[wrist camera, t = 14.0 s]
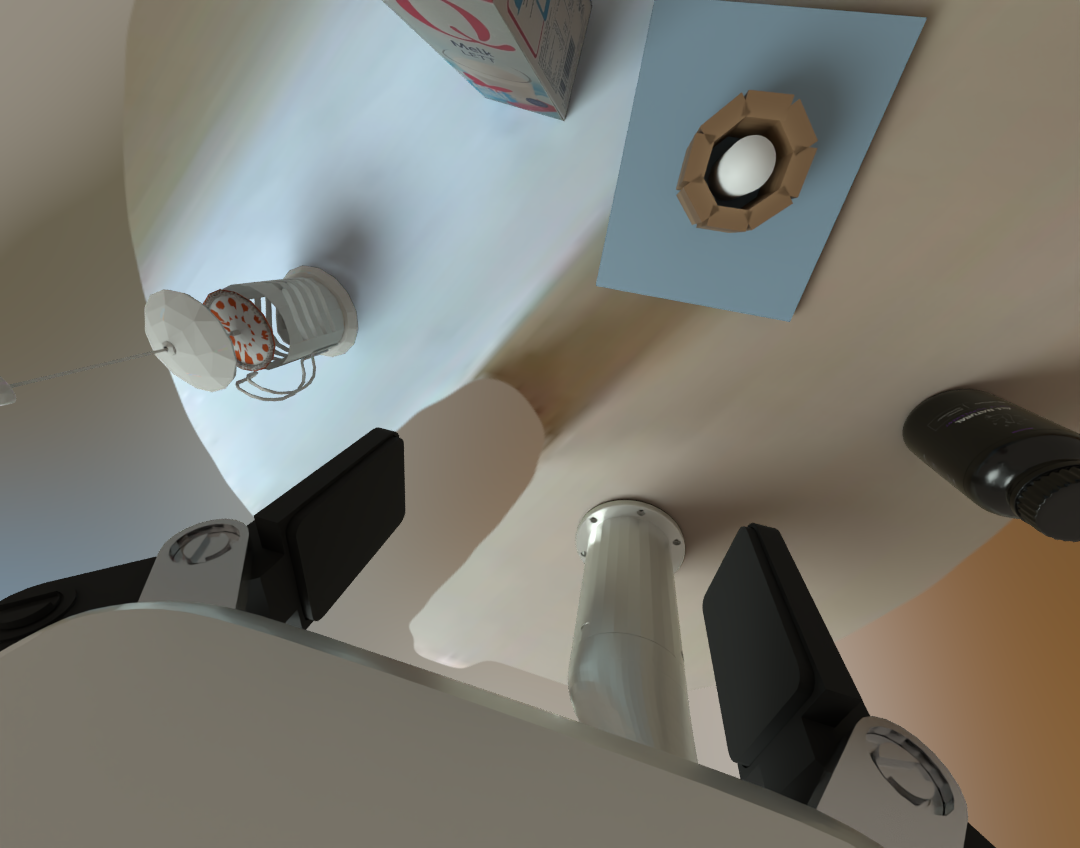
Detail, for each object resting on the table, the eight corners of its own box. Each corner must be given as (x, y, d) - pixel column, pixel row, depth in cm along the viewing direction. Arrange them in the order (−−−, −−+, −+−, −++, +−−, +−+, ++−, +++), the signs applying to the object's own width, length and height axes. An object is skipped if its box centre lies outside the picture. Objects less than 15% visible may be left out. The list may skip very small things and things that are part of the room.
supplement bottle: (949, 372, 31) (1110, 439, 21) (1022, 411, 31) (1219, 499, 21) (878, 435, 34) (985, 521, 24) (944, 470, 34) (1079, 572, 24)
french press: (318, 247, 39) (-99, 258, 17) (384, 350, 42) (110, 471, 20) (262, 291, 42) (-141, 348, 20) (326, 383, 46) (41, 515, 24)
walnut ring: (759, 237, 29) (782, 237, 24) (666, 222, 30) (672, 220, 25) (802, 123, 26) (836, 99, 21) (696, 110, 26) (709, 85, 22)
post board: (783, 318, 32) (815, 335, 26) (597, 283, 34) (589, 292, 28) (911, 29, 24) (998, -37, 18) (654, 7, 26) (659, -59, 20)
